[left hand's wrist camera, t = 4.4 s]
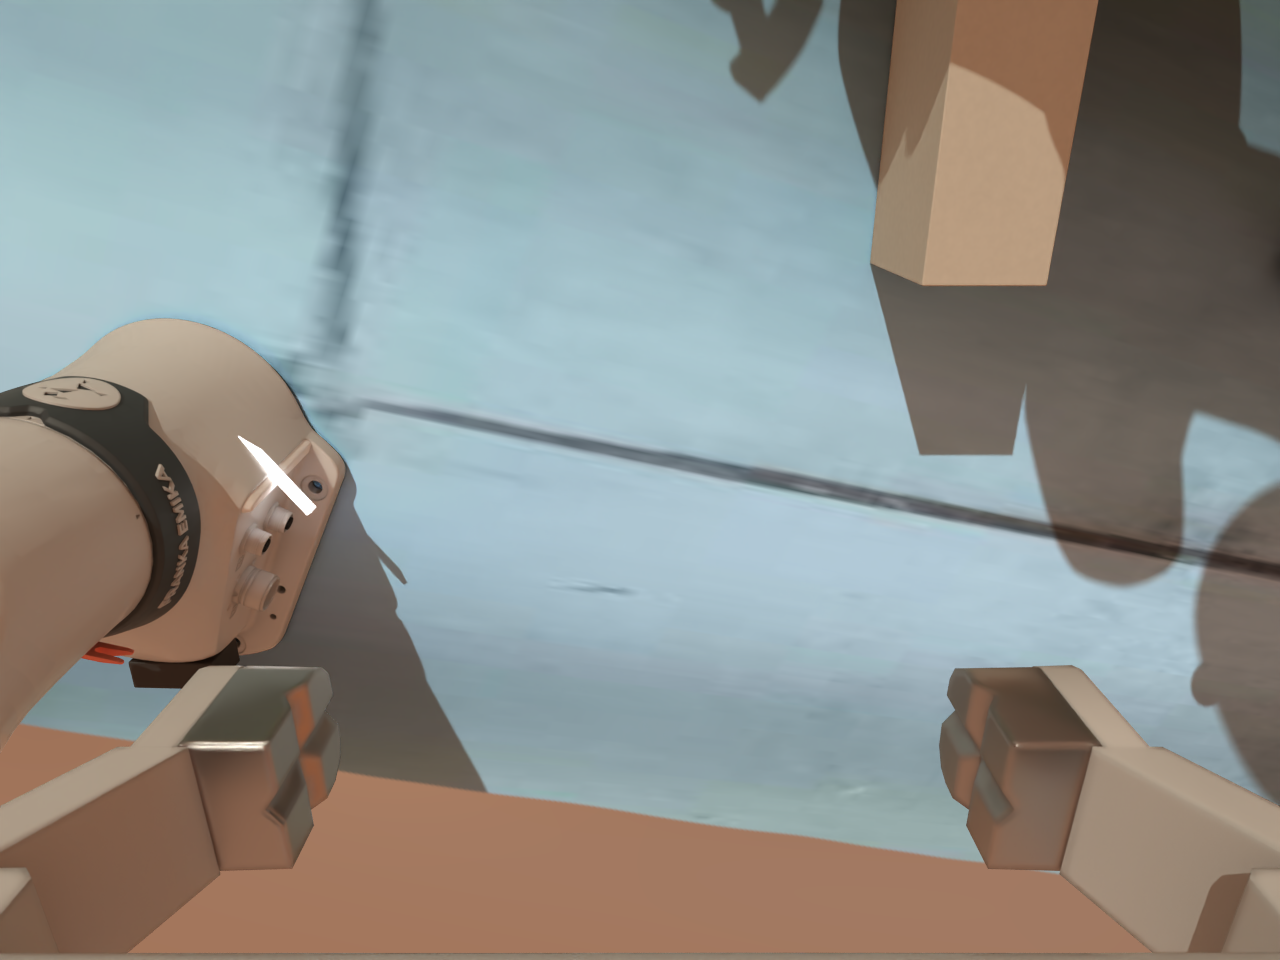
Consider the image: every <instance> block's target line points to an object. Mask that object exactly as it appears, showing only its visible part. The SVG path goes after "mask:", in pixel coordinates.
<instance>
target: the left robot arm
mask: <svg viewBox="0 0 1280 960" xmlns="http://www.w3.org/2000/svg"><path fill="white" fill-rule="evenodd" d="M344 476H345V464H344V462H343V460H342V458H341V457H340V455H339V454H338V453H337V452H336V451H335V450H334V449H333V448H332V447H331V446H330V445H329V444H328V443H327V442H326V441H325V440H324V439H323V438H322V437H321V436H320V435H318V434H317V433H316V432H315V431H314V430H313V429H312V428H311V426H310V425H309V424H308V422H307V420H306V419H305V417H304V415H303V413H302V411H301V409H300V407H299V405H298V403H297V401H296V399H295V398H294V396H293V394H292V392H291V391H290V389H289V388H288V386H287V385H286V383H285V382H284V381H283V379H282V378H281V377H280V376H279V374H278V373H277V372H276V371H275V370H274V369H273V368H272V366H271V365H270V364H269V363H267V362H266V361H265V360H264V359H263V358H262V357H261V356H260V355H259V354H257V353H256V352H255V351H254V350H252V349H251V348H250V347H248V346H247V345H245V344H244V343H242V342H241V341H239V340H237V339H236V338H234V337H232V336H230V335H228V334H226V333H224V332H222V331H220V330H218V329H215V328H212V327H210V326H207V325H204V324H200V323H197V322H192V321H187V320H181V319H170V318H159V319H148V320H142V321H137V322H133V323H130V324H127V325H124V326H122V327H120V328H117V329H115V330H114V331H112V332H110V333H108V334H107V335H105V336H104V337H103V338H101V339H100V340H99V341H98V342H96V343H95V344H94V345H93V346H92V347H91V348H90V349H89V350H88V351H87V352H85V353H84V354H83V355H82V356H81V357H79V358H78V359H77V360H75V361H74V362H72V363H71V364H69V365H68V366H66V367H65V368H63V369H62V370H61V371H59V372H58V373H56V374H55V375H53V376H50V377H48V378H46V379H44V380H42V381H40V382H36V383H32V384H28V385H24V386H21V387H17V388H14V389H11V390H8V391H5V392H2V393H0V752H1V751H2V749H3V747H4V746H5V744H6V743H7V741H8V739H9V738H10V736H11V735H12V733H13V732H14V730H15V729H16V727H17V726H18V725H19V724H20V722H21V721H22V720H23V718H24V717H25V716H26V715H27V713H28V712H29V711H30V710H31V709H32V708H33V706H34V705H35V704H36V703H37V702H38V701H39V700H40V699H41V698H42V697H43V696H44V695H45V694H46V693H47V692H48V691H49V690H50V689H51V688H52V687H53V685H54V684H55V683H56V682H57V681H58V680H59V679H60V678H61V677H62V676H63V675H64V674H65V673H66V672H67V671H68V670H69V669H70V668H71V667H72V666H73V665H74V664H75V663H76V662H77V661H79V660H80V659H81V658H84V659H88V660H93V661H98V662H103V663H113V664H123V663H124V660H122V659H120V658H118V657H114V656H125V657H130V658H133V659H132V660H131V661H129V667H130V671H131V675H132V679H133V683H134V687H138V688H180V689H181V690H180V691H179V692H178V693H177V695H176V696H175V697H174V698H173V699H172V700H171V701H170V703H169V704H168V705H167V706H166V707H165V708H164V709H163V710H162V712H161V713H160V714H159V715H158V716H157V717H156V718H155V720H154V721H153V722H152V723H151V724H150V725H149V726H148V727H147V729H146V730H145V731H144V732H143V733H142V734H141V735H140V737H139V738H138V739H137V740H136V741H135V742H134V743H133V744H132V746H131V747H117V748H115V749H113V750H111V751H109V752H107V753H105V754H103V755H101V756H99V757H97V758H95V759H93V760H91V761H89V762H87V763H85V764H83V765H81V766H79V767H77V768H75V769H73V770H71V771H69V772H67V773H65V774H63V775H61V776H59V777H57V778H55V779H53V780H51V781H49V782H47V783H45V784H43V785H41V786H39V787H37V788H35V789H33V790H31V791H29V792H27V793H25V794H23V795H21V796H19V797H17V798H15V799H13V800H11V801H9V802H7V803H5V804H3V805H1V806H0V960H1280V806H1278V805H1276V804H1274V803H1272V802H1270V801H1268V800H1266V799H1264V798H1262V797H1260V796H1258V795H1256V794H1255V793H1253V792H1251V791H1249V790H1247V789H1245V788H1243V787H1241V786H1239V785H1237V784H1235V783H1233V782H1231V781H1229V780H1227V779H1225V778H1223V777H1221V776H1219V775H1217V774H1215V773H1213V772H1211V771H1209V770H1207V769H1205V768H1203V767H1201V766H1199V765H1197V764H1195V763H1193V762H1191V761H1189V760H1187V759H1185V758H1183V757H1181V756H1179V755H1177V754H1175V753H1173V752H1171V751H1169V750H1167V749H1165V748H1163V747H1149V746H1148V744H1147V743H1146V742H1145V741H1144V740H1143V739H1142V738H1141V737H1140V735H1139V734H1138V733H1137V732H1136V731H1135V730H1134V729H1133V727H1132V726H1131V725H1130V724H1129V723H1128V722H1127V721H1126V720H1125V718H1124V717H1123V716H1122V715H1121V714H1120V713H1119V712H1118V710H1117V709H1116V708H1115V707H1114V706H1113V705H1112V704H1111V703H1110V701H1109V700H1108V699H1107V698H1106V697H1105V696H1104V695H1103V693H1102V692H1101V691H1100V690H1099V689H1098V688H1097V687H1096V686H1095V684H1094V683H1093V682H1092V681H1091V680H1090V679H1089V678H1088V676H1087V675H1086V674H1085V673H1084V672H1083V671H1082V670H1081V669H1079V668H1077V667H1075V666H1073V665H1060V666H1033V667H1015V668H955V669H954V671H953V673H952V675H951V677H950V681H949V686H948V691H947V696H948V698H949V700H950V702H951V703H952V705H953V707H954V709H955V711H954V712H953V713H952V714H951V715H950V716H949V717H948V718H947V719H946V720H945V721H944V722H943V723H942V727H941V735H940V743H939V749H940V761H941V769H942V772H943V776H944V779H945V783H946V785H947V787H948V789H949V791H950V793H951V795H952V798H953V799H955V800H956V801H958V802H959V803H960V804H962V805H963V806H965V807H966V808H967V809H969V813H968V818H967V824H966V826H967V828H968V830H969V832H970V834H971V836H972V838H973V840H974V842H975V844H976V846H977V848H978V850H979V852H980V854H981V856H982V858H983V860H984V862H985V864H986V866H987V868H988V869H1015V870H1050V871H1060V875H1061V876H1062V877H1064V878H1065V879H1066V880H1067V881H1068V882H1069V883H1071V884H1072V885H1073V886H1074V887H1075V888H1077V889H1078V890H1079V891H1080V892H1081V893H1082V894H1084V895H1085V896H1086V897H1087V898H1088V899H1090V900H1091V901H1092V902H1093V903H1094V904H1096V905H1097V906H1098V907H1099V908H1100V909H1101V910H1103V911H1104V912H1105V913H1106V914H1107V915H1109V916H1110V917H1111V918H1112V919H1113V920H1114V921H1116V922H1117V923H1118V924H1119V925H1120V926H1122V927H1123V928H1124V929H1125V930H1126V931H1127V932H1129V933H1130V934H1131V935H1132V936H1133V937H1135V938H1136V939H1137V940H1138V941H1139V942H1140V943H1142V944H1143V945H1144V946H1145V947H1146V948H1148V949H1149V950H1150V951H1151V952H1152V953H128V952H129V951H130V950H131V949H133V948H134V947H135V946H136V945H137V944H139V943H140V942H141V941H142V940H143V939H145V938H146V937H147V936H148V935H149V934H150V933H152V932H153V931H154V930H155V929H156V928H158V927H159V926H160V925H161V924H162V923H163V922H165V921H166V920H167V919H168V918H169V917H171V916H172V915H173V914H174V913H175V912H177V911H178V910H179V909H180V908H181V907H182V906H184V905H185V904H186V903H187V902H188V901H190V900H191V899H192V898H193V897H194V896H195V895H197V894H198V893H199V892H200V891H201V890H203V889H204V888H205V887H206V886H207V885H209V884H210V883H211V882H212V881H213V880H215V879H216V878H217V877H218V876H219V875H220V871H229V870H263V869H292V868H293V866H294V864H295V862H296V860H297V858H298V856H299V854H300V852H301V850H302V848H303V846H304V844H305V842H306V840H307V838H308V836H309V834H310V832H311V830H312V828H313V826H314V824H313V819H312V813H311V809H313V808H314V807H315V806H317V805H318V804H320V803H321V802H322V801H324V800H325V799H327V797H328V795H329V793H330V791H331V789H332V787H333V785H334V782H335V780H336V775H337V771H338V766H339V762H340V733H339V727H338V723H337V722H336V721H335V720H334V719H333V718H332V717H331V716H330V715H329V714H328V713H327V712H326V711H325V709H326V707H327V705H328V703H329V702H330V700H331V698H332V696H333V692H332V687H331V682H330V678H329V673H327V672H326V671H325V670H324V669H323V668H322V667H280V666H246V667H245V666H236V664H237V663H238V662H239V661H240V658H239V655H247V654H254V653H258V652H262V651H266V650H269V649H271V648H273V647H275V646H276V645H277V644H278V643H279V642H280V641H281V640H282V638H283V636H284V634H285V632H286V629H287V627H288V624H289V622H290V619H291V616H292V614H293V611H294V609H295V606H296V603H297V601H298V598H299V595H300V593H301V590H302V587H303V585H304V582H305V580H306V577H307V574H308V572H309V569H310V566H311V564H312V561H313V558H314V556H315V553H316V550H317V548H318V545H319V543H320V540H321V537H322V535H323V532H324V529H325V527H326V524H327V521H328V519H329V516H330V513H331V511H332V508H333V506H334V503H335V500H336V498H337V495H338V492H339V490H340V487H341V484H342V482H343V479H344ZM313 481H318V482H319V483H320V484H321V485H322V489H317V488H316V487H315V486H314V485H313ZM236 638H237V639H238V640H239V641H240V642H237V641H236Z"/></svg>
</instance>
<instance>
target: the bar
mask: <svg viewBox="0 0 1280 960" xmlns="http://www.w3.org/2000/svg"><path fill="white" fill-rule="evenodd" d="M1097 5H1098V0H897V4H896V14H895V24H894V34H893V44H892V54H891V63H890V73H889V83H888V93H887V103H886V113H885V122H884V132H883V142H882V152H881V162H880V172H879V181H878V191H877V201H876V211H875V221H874V231H873V240H872V250H871V260H870V263H871V264H873V265H875V266H878V267H880V268H882V269H885V270H887V271H889V272H892V273H894V274H896V275H899V276H901V277H903V278H906V279H908V280H910V281H913V282H915V283H917V284H919V285H922V286H1046V285H1047V280H1048V275H1049V269H1050V264H1051V258H1052V253H1053V247H1054V242H1055V236H1056V231H1057V225H1058V220H1059V214H1060V209H1061V203H1062V198H1063V192H1064V187H1065V181H1066V176H1067V170H1068V165H1069V159H1070V154H1071V148H1072V143H1073V137H1074V132H1075V126H1076V121H1077V115H1078V110H1079V104H1080V99H1081V93H1082V88H1083V82H1084V77H1085V71H1086V66H1087V60H1088V55H1089V49H1090V44H1091V38H1092V33H1093V27H1094V22H1095V16H1096V11H1097Z"/></svg>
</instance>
